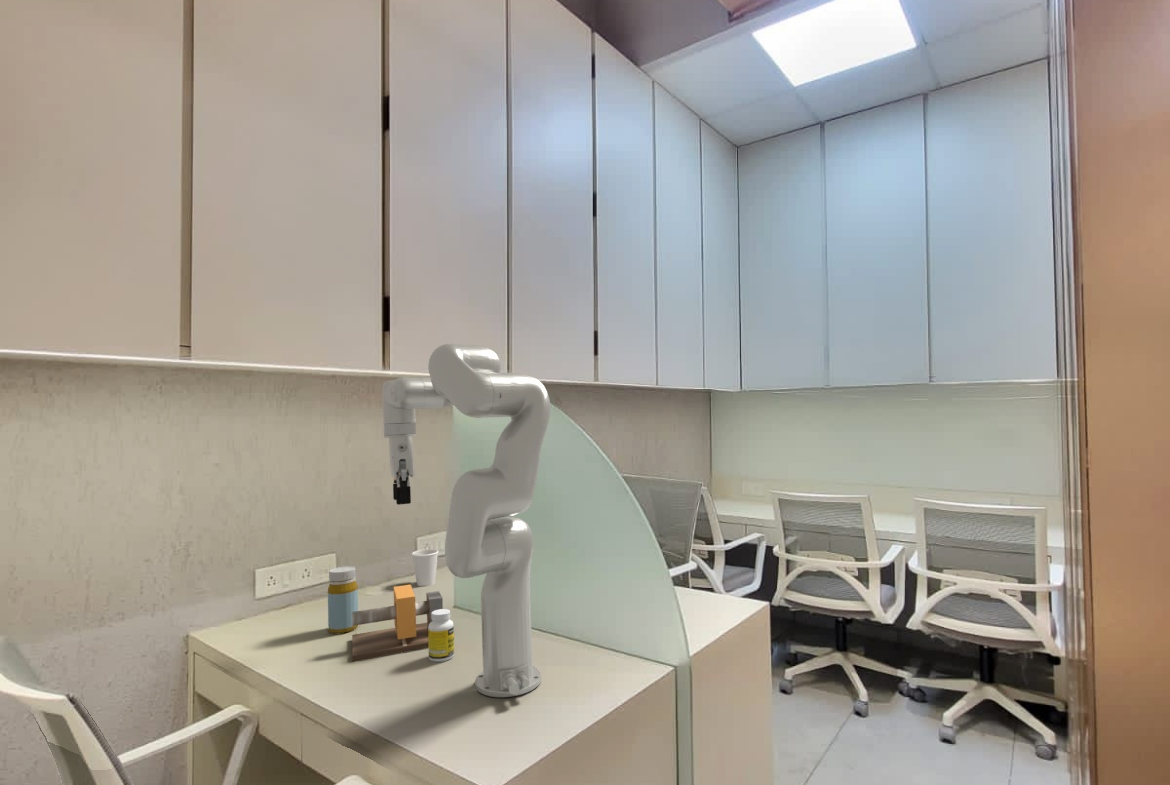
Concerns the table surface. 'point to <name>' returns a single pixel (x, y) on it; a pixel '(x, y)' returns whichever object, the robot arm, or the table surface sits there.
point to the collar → (405, 611)
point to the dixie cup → (425, 566)
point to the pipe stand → (391, 630)
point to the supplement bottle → (441, 636)
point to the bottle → (342, 599)
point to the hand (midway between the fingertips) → (401, 501)
